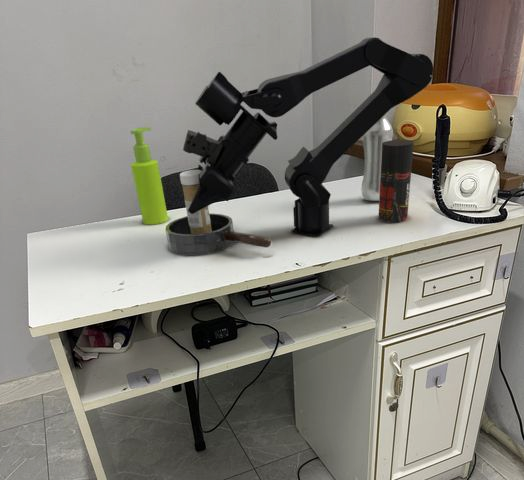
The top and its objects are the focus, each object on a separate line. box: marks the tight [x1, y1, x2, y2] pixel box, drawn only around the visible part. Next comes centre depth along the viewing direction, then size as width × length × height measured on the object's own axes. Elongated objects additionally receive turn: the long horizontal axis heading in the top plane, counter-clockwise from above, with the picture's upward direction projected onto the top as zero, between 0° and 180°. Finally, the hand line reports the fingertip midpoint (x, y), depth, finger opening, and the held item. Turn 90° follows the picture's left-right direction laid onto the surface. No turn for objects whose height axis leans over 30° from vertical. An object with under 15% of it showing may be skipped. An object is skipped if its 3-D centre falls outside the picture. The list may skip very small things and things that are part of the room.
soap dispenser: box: [130, 126, 169, 226], centre depth 110 cm, size 6×7×20 cm
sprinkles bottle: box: [179, 169, 212, 235], centre depth 96 cm, size 5×5×14 cm
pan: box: [165, 213, 235, 256], centre depth 98 cm, size 13×13×4 cm
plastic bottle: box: [360, 111, 394, 202], centre depth 110 cm, size 6×7×20 cm
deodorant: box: [377, 139, 415, 224], centre depth 99 cm, size 6×6×15 cm
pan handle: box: [221, 229, 272, 248], centre depth 92 cm, size 11×2×2 cm, turn 54°
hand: (190, 208), depth 96 cm, fingers open, 4 cm apart
